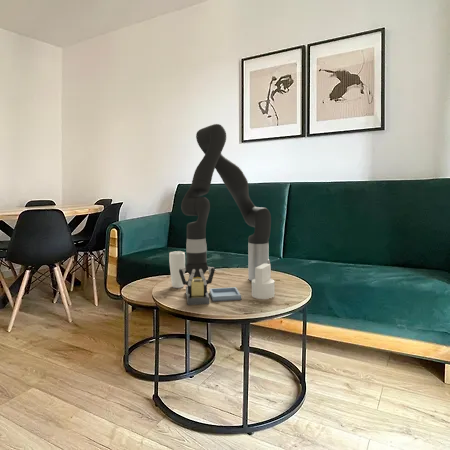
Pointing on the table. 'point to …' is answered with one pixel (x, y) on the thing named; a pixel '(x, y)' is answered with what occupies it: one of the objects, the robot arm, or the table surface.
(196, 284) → the gold square peg
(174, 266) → the white tapered cylinder
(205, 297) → the frame
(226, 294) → the parts tray
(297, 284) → the table surface
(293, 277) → the table surface
